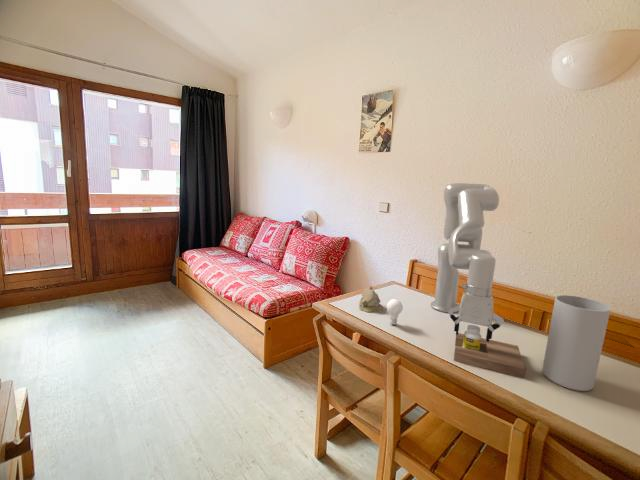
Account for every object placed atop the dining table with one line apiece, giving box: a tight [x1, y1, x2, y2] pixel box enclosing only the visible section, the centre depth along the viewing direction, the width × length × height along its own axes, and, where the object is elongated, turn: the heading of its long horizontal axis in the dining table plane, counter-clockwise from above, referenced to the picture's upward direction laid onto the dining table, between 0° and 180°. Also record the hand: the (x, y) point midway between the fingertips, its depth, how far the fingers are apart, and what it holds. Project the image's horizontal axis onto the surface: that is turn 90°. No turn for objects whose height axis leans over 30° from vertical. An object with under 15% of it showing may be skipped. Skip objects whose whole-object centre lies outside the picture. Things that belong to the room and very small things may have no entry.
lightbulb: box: [386, 298, 404, 326], centre depth 127 cm, size 6×6×11 cm
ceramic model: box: [358, 285, 383, 313], centre depth 146 cm, size 14×11×10 cm
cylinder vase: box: [541, 294, 611, 392], centre depth 93 cm, size 12×12×25 cm
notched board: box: [453, 332, 526, 379], centre depth 106 cm, size 16×20×3 cm
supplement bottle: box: [462, 324, 482, 351], centre depth 107 cm, size 5×5×10 cm
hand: (471, 336), depth 107 cm, fingers open, 9 cm apart
